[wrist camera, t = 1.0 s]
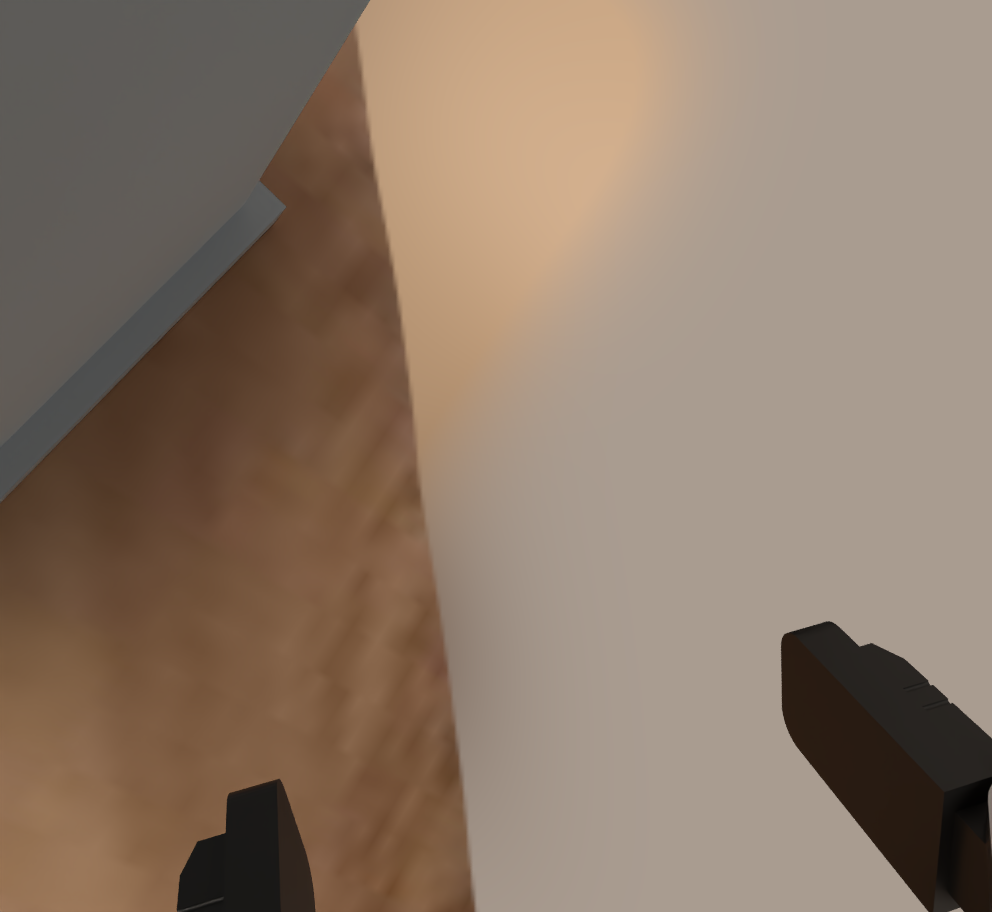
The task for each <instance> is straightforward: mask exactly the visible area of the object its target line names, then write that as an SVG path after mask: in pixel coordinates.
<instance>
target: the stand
mask: <svg viewBox="0 0 992 912" xmlns="http://www.w3.org/2000/svg"><path fill="white" fill-rule="evenodd" d="M369 1H370V0H0V503H1V502H2V501H3V500H4V499H5V498H6V497H7V496H8V495H9V494H10V493H11V492H12V491H13V490H14V489H15V488H16V487H17V486H18V484H19V483H20V482H21V481H22V480H23V479H24V478H25V477H26V476H27V475H28V474H29V473H30V472H31V471H32V470H33V469H34V468H35V467H36V466H37V465H38V464H39V463H40V462H41V461H42V460H43V459H44V458H45V457H46V456H47V455H48V454H49V453H50V452H51V451H52V450H53V449H54V448H55V447H56V446H57V445H58V444H59V443H60V442H61V441H62V440H63V438H64V437H65V436H66V435H67V434H68V433H69V432H70V431H71V430H72V429H73V428H74V427H75V426H76V425H77V424H78V423H79V422H80V421H81V420H82V419H83V418H84V417H85V416H86V415H87V414H88V413H89V412H90V411H91V410H92V409H93V408H94V407H95V406H96V405H97V404H98V403H99V402H100V401H101V400H102V399H103V398H104V397H105V396H106V395H107V394H108V392H109V391H110V390H111V389H112V388H113V387H114V386H115V385H116V384H117V383H118V382H119V381H120V380H121V379H122V378H123V377H124V376H125V375H126V374H127V373H128V372H129V371H130V370H131V369H132V368H133V367H134V366H135V365H136V364H137V363H138V362H139V361H140V360H141V359H142V358H143V357H144V356H145V355H146V354H147V353H148V352H149V351H150V350H151V349H152V348H153V346H154V345H155V344H156V343H157V342H158V341H159V340H160V339H161V338H162V337H163V336H164V335H165V334H166V333H167V332H168V331H169V330H170V329H171V328H172V327H173V326H174V325H175V324H176V323H177V322H178V321H179V320H180V319H181V318H182V317H183V316H184V315H185V314H186V313H187V312H188V311H189V310H190V309H191V308H192V307H193V306H194V305H195V304H196V303H197V302H198V300H199V299H200V298H201V297H202V296H203V295H204V294H205V293H206V292H207V291H208V290H209V289H210V288H211V287H212V286H213V285H214V284H215V283H216V282H217V281H218V280H219V279H220V278H221V277H222V276H223V275H224V274H225V273H226V272H227V271H228V270H229V269H230V268H231V267H232V266H233V265H234V264H235V263H236V262H237V261H238V260H239V259H240V258H241V257H242V256H243V254H244V253H245V252H246V251H247V250H248V249H249V248H250V247H251V246H252V245H253V244H254V243H255V242H256V241H257V240H258V239H259V238H260V237H261V236H262V235H263V234H264V233H265V232H266V231H267V230H268V229H269V228H270V227H271V226H272V225H273V224H274V223H275V221H276V220H277V219H278V217H279V216H280V215H281V214H282V212H283V211H284V210H285V208H286V206H285V205H284V204H283V203H282V202H281V201H280V200H279V199H278V198H277V197H276V196H275V195H274V194H273V193H272V192H271V191H270V190H269V189H268V188H267V187H265V186H264V185H263V184H262V183H261V182H260V181H259V180H260V178H261V176H262V175H263V173H264V172H265V170H266V168H267V167H268V165H269V163H270V162H271V160H272V159H273V157H274V155H275V154H276V152H277V150H278V149H279V147H280V146H281V144H282V142H283V141H284V139H285V137H286V136H287V134H288V133H289V131H290V129H291V128H292V126H293V124H294V123H295V121H296V120H297V118H298V116H299V115H300V113H301V112H302V110H303V108H304V107H305V105H306V103H307V102H308V100H309V99H310V97H311V95H312V94H313V92H314V90H315V89H316V87H317V86H318V84H319V82H320V81H321V79H322V77H323V76H324V74H325V73H326V71H327V69H328V68H329V66H330V64H331V63H332V61H333V60H334V58H335V56H336V55H337V53H338V51H339V50H340V48H341V47H342V45H343V43H344V42H345V40H346V38H347V37H348V35H349V34H350V32H351V30H352V29H353V27H354V25H355V24H356V22H357V21H358V19H359V17H360V16H361V14H362V12H363V11H364V9H365V8H366V6H367V4H368V3H369Z"/></svg>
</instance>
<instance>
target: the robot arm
mask: <svg viewBox="0 0 992 912" xmlns="http://www.w3.org/2000/svg"><path fill="white" fill-rule="evenodd" d="M781 668H782V670H781V671H782V711H783V716H784V720H785V724H786V727H787V729H788V731H789V734H790V736H791V738H792V740H793V742H794V743H795V745H796V746H797V748H798V749H799V750H800V751H801V753H802V754H803V755H804V756H805V758H806V759H807V760H808V761H809V763H810V764H811V765H812V766H813V768H814V769H815V770H816V771H817V773H818V774H819V775H820V777H821V778H822V779H823V780H824V781H825V783H826V784H827V785H828V786H829V788H830V789H831V790H832V791H833V793H834V794H835V795H836V797H837V798H838V799H839V800H840V802H841V803H842V804H843V805H844V806H845V808H846V809H847V810H848V812H849V813H850V814H851V815H852V817H853V818H854V819H855V820H856V822H857V823H858V824H859V825H860V826H861V828H862V829H863V830H864V832H865V833H866V834H867V835H868V837H869V838H870V839H871V840H872V842H873V843H874V844H875V845H876V847H877V848H878V849H879V850H880V852H881V853H882V854H883V855H884V857H885V858H886V859H887V860H888V862H889V863H890V864H891V865H892V867H893V868H894V869H895V870H896V872H897V873H898V874H899V875H900V877H901V878H902V879H903V880H904V882H905V883H906V884H907V885H908V887H909V888H910V889H911V890H912V892H913V893H914V894H915V895H916V897H917V898H918V899H919V900H920V902H921V903H922V904H923V905H924V906H925V908H926V909H927V910H928V912H949V911H952V910H954V909H957V908H960V907H961V909H962V910H963V911H964V912H992V738H991V737H990V736H988V735H987V734H986V733H985V732H984V731H983V730H982V729H981V728H980V727H979V726H978V725H976V724H975V723H974V722H973V721H972V720H971V719H970V718H969V717H967V716H966V715H965V714H964V713H963V712H962V711H961V710H960V709H959V708H958V707H957V706H955V705H954V704H953V703H951V704H950V703H949V702H948V698H947V697H946V696H945V695H943V694H942V693H941V692H940V691H939V690H938V689H937V688H936V687H935V686H934V685H931V686H930V684H929V682H928V680H927V679H926V678H925V677H924V676H923V675H921V674H920V673H919V672H918V671H917V670H916V669H915V668H914V667H913V666H912V665H910V664H909V663H908V662H907V661H906V660H905V659H903V658H901V657H899V656H897V655H895V654H893V653H891V652H889V651H887V650H885V649H883V648H880V647H878V646H876V645H874V644H872V643H870V644H867V645H864V646H860V647H859V646H858V645H857V644H856V643H855V642H854V641H853V640H852V639H851V638H850V637H849V636H848V635H847V634H846V633H845V632H844V631H843V630H841V629H840V627H838V626H837V625H836V624H834V623H833V622H830V621H828V622H823V623H821V624H817V625H813V626H810V627H806V628H803V629H800V630H796V631H793V632H789V633H786V634H785V635H784V636H783V638H782V642H781ZM177 912H315V901H314V891H313V883H312V877H311V872H310V867H309V863H308V859H307V855H306V851H305V848H304V845H303V842H302V839H301V836H300V833H299V830H298V827H297V824H296V822H295V819H294V816H293V813H292V810H291V807H290V804H289V801H288V798H287V795H286V792H285V789H284V786H283V784H282V782H281V780H280V779H277V780H273V781H270V782H266V783H263V784H259V785H256V786H253V787H249V788H246V789H242V790H239V791H235V792H232V793H229V795H228V798H227V814H226V833H225V834H221V835H218V836H215V837H211V838H208V839H205V840H201V841H198V842H197V844H196V846H195V848H194V850H193V852H192V853H191V855H190V857H189V859H188V861H187V863H186V865H185V867H184V869H183V871H182V873H181V875H180V881H179V892H178V902H177Z"/></svg>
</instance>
